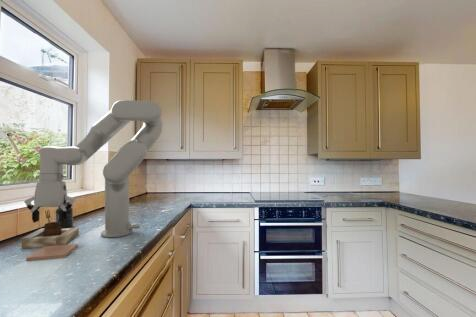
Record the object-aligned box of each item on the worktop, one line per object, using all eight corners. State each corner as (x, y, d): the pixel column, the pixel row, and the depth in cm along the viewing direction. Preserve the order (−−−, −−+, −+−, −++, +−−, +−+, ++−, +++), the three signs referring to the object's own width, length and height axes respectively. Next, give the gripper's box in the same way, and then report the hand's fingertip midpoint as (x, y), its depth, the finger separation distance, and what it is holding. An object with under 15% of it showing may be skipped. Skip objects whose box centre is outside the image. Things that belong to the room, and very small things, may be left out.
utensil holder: (50, 244, 99) (49, 212, 99) (39, 242, 101) (39, 211, 101) (65, 239, 104) (65, 209, 104) (54, 238, 107) (54, 208, 107)
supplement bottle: (70, 225, 128) (69, 200, 128) (75, 227, 124) (75, 202, 124) (53, 228, 123) (53, 202, 123) (58, 230, 118) (58, 204, 118)
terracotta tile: (77, 246, 95) (77, 243, 95) (65, 257, 85) (65, 254, 85) (43, 249, 93) (43, 246, 93) (26, 260, 82) (26, 257, 82)
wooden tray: (78, 234, 111) (78, 226, 111) (64, 244, 97) (64, 235, 98) (41, 237, 108) (41, 228, 108) (21, 248, 94) (21, 238, 94)
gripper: (79, 177, 108) (78, 218, 108) (31, 177, 104) (30, 220, 104) (72, 178, 101) (70, 222, 101) (20, 178, 97) (18, 224, 97)
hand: (50, 221), depth 102 cm, fingers open, 9 cm apart
